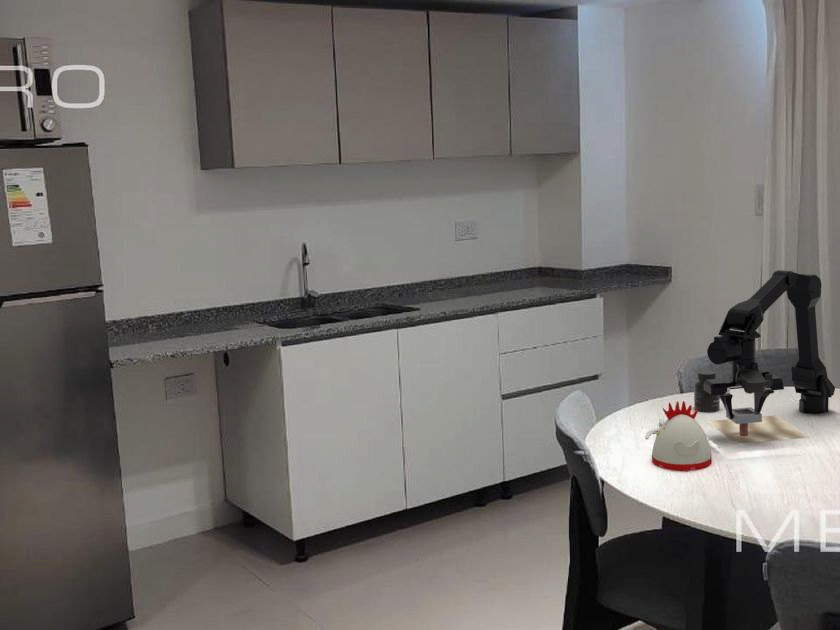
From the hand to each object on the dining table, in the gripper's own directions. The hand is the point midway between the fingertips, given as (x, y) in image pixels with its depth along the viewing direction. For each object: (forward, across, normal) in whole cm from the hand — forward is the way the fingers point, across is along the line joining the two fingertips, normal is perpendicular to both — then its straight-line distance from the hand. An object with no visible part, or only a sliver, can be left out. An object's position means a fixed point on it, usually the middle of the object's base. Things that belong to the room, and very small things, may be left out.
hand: (743, 417), depth 241 cm
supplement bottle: (+6, 0, +25) cm, 26 cm away
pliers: (+7, -16, +13) cm, 22 cm away
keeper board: (+6, +5, +4) cm, 9 cm away
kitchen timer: (+6, -20, -11) cm, 24 cm away
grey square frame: (0, 0, 0) cm, 0 cm away
